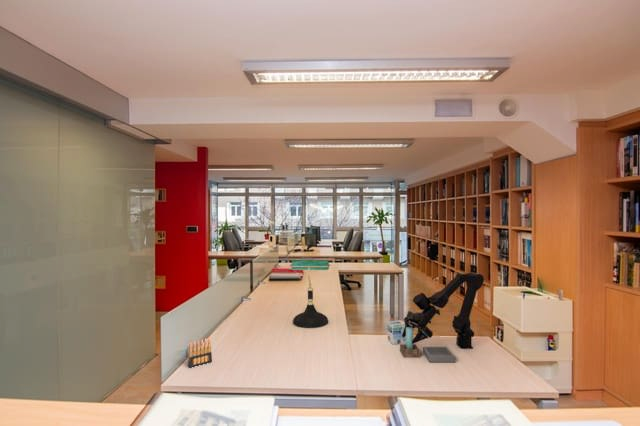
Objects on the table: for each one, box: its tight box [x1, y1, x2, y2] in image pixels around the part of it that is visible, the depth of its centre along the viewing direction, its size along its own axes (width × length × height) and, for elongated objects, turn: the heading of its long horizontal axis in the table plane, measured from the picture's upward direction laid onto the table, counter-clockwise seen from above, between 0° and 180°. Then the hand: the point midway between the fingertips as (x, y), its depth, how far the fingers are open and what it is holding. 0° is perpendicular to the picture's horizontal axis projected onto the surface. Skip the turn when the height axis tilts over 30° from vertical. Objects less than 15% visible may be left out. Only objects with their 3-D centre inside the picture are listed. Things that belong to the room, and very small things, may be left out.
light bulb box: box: [387, 319, 406, 345], centre depth 192 cm, size 11×7×11 cm, turn 105°
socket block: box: [399, 343, 421, 358], centre depth 175 cm, size 8×8×4 cm
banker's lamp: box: [289, 259, 331, 329], centre depth 227 cm, size 26×23×40 cm
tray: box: [422, 346, 456, 364], centre depth 170 cm, size 12×12×3 cm
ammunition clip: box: [187, 337, 213, 369], centre depth 165 cm, size 11×2×12 cm, turn 127°
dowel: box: [405, 327, 414, 349], centre depth 175 cm, size 4×4×13 cm
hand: (407, 339), depth 174 cm, fingers open, 9 cm apart
